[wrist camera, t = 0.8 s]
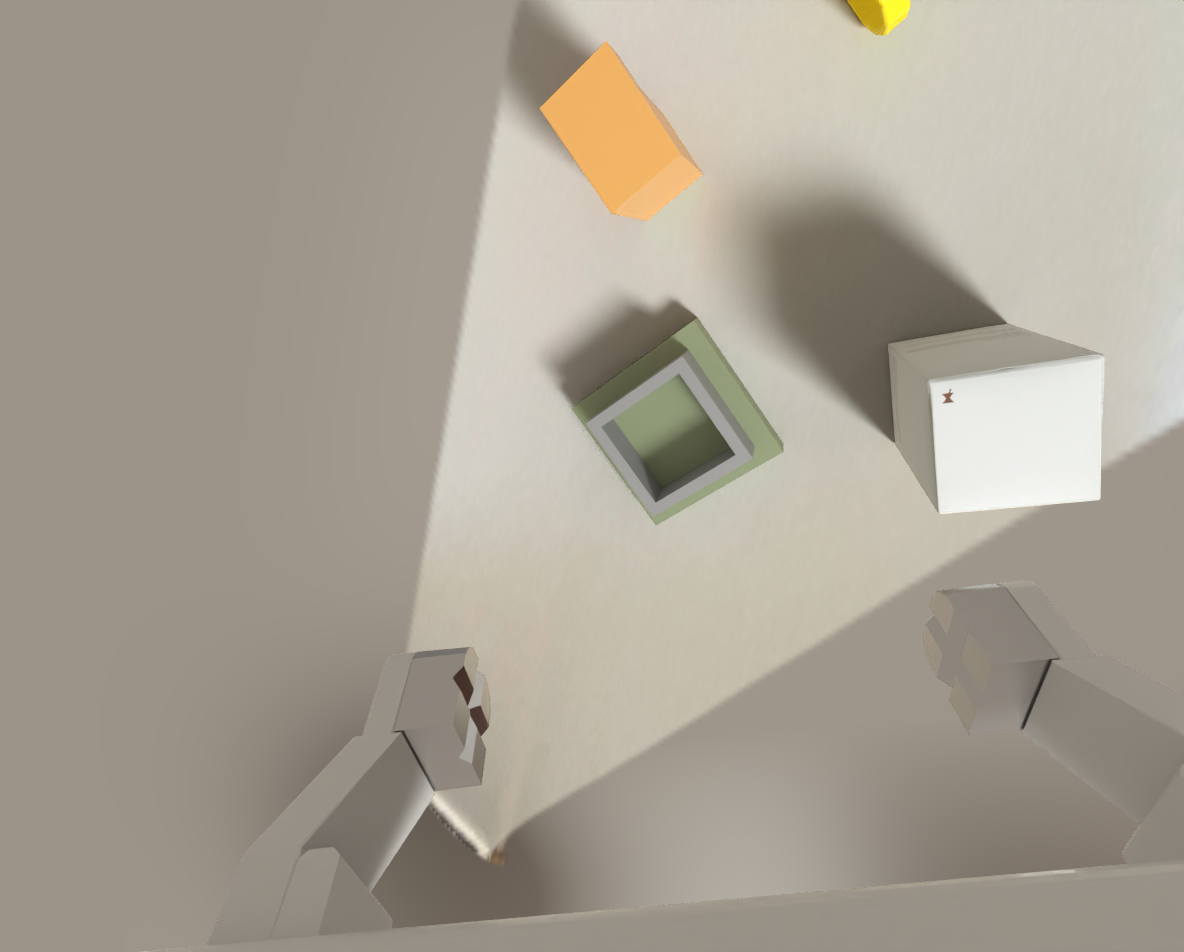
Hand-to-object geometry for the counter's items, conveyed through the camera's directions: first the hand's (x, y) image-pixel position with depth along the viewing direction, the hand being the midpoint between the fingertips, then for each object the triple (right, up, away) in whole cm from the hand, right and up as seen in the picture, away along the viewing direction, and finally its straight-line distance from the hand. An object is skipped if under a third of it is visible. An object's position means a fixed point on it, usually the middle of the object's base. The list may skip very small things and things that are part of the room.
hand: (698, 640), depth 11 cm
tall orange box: (+2, +24, +31) cm, 39 cm away
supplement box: (+22, +9, +31) cm, 39 cm away
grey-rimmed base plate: (+5, +7, +36) cm, 37 cm away
